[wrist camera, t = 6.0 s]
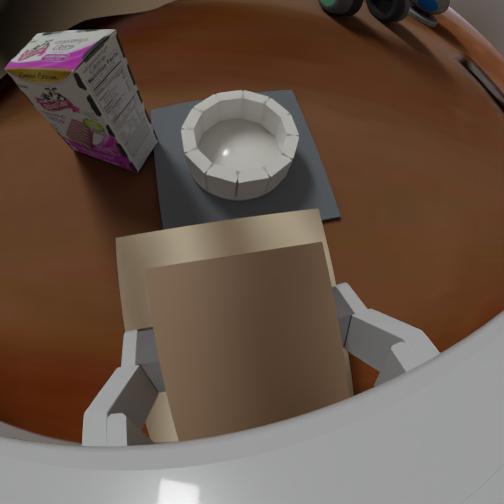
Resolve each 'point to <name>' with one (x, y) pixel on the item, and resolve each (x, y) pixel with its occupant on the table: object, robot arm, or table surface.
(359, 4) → the headphones
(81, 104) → the candy bar box
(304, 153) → the mat
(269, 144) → the bowl
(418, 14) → the webcam
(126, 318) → the lid
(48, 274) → the table surface
